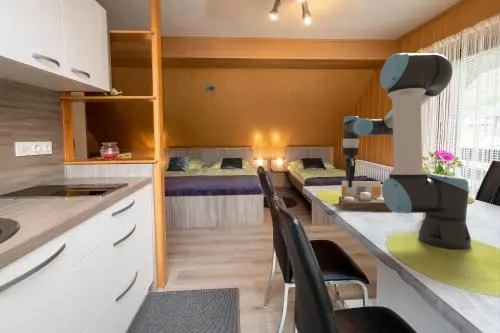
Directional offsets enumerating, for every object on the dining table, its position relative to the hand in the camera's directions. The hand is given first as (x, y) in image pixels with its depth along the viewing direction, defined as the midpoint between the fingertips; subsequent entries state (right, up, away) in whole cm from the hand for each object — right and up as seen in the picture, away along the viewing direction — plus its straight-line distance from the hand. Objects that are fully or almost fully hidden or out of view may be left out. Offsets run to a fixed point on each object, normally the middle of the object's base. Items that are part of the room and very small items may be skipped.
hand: (349, 193), depth 148 cm
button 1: (+16, -7, -1) cm, 17 cm away
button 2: (+8, -4, 0) cm, 9 cm away
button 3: (0, -7, +1) cm, 7 cm away
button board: (+8, -7, 0) cm, 11 cm away
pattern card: (+9, -6, +9) cm, 15 cm away
